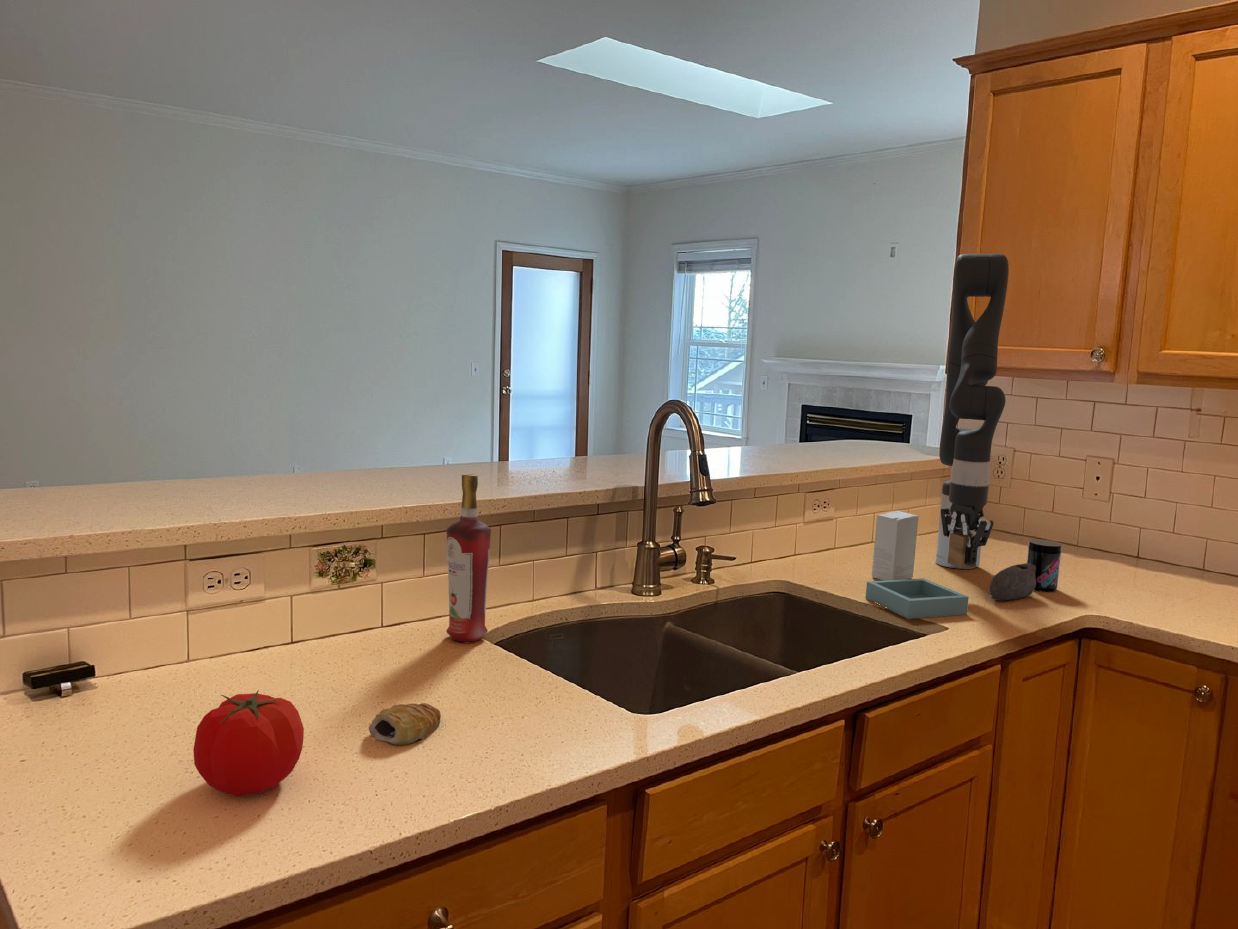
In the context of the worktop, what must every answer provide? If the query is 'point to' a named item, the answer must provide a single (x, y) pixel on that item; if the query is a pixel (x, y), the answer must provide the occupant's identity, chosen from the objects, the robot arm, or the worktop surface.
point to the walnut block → (958, 550)
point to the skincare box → (895, 546)
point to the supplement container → (1045, 563)
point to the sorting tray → (917, 598)
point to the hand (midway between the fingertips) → (962, 561)
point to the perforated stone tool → (1013, 582)
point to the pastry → (405, 723)
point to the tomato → (248, 743)
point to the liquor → (468, 568)
